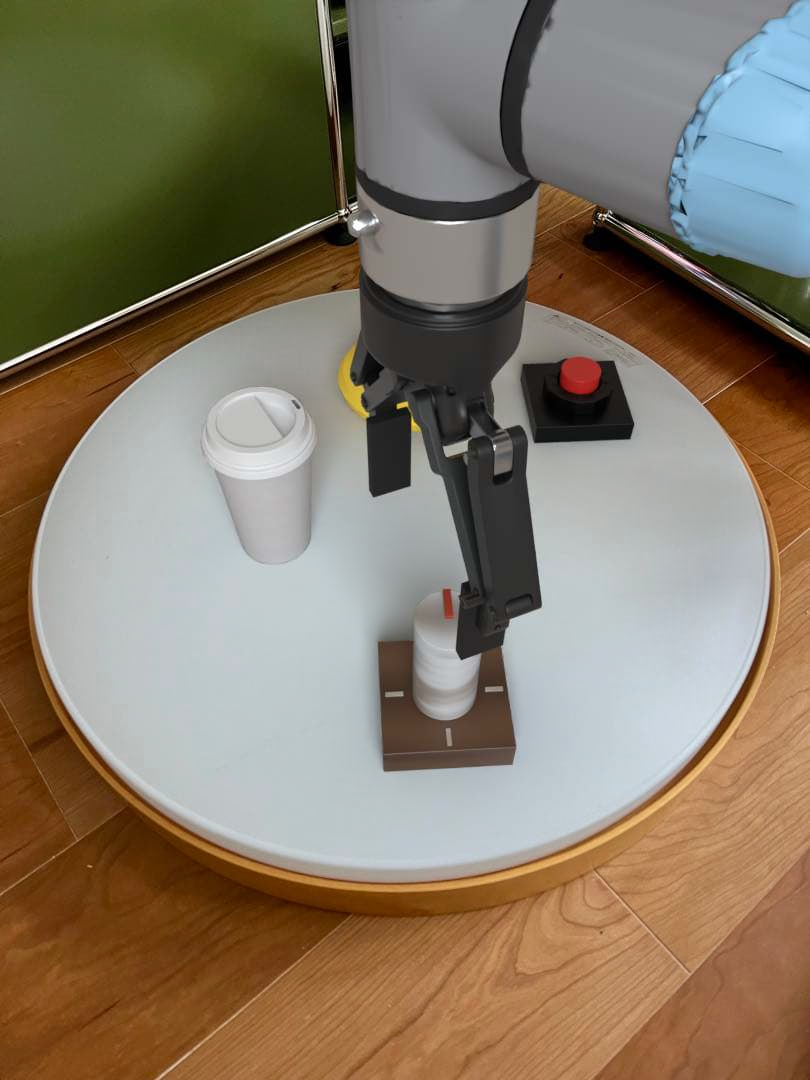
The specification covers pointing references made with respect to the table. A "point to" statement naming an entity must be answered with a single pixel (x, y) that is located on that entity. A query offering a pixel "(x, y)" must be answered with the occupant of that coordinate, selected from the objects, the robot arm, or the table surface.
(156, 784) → the table surface
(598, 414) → the black button base
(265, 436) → the coffee cup
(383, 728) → the panel
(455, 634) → the tap knob
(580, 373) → the button
